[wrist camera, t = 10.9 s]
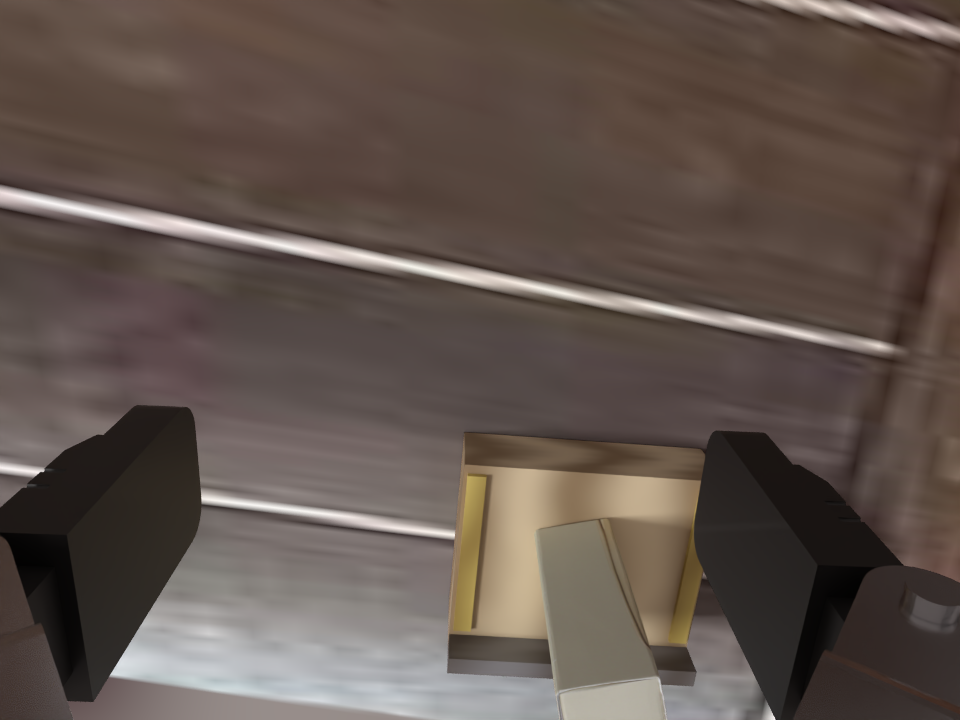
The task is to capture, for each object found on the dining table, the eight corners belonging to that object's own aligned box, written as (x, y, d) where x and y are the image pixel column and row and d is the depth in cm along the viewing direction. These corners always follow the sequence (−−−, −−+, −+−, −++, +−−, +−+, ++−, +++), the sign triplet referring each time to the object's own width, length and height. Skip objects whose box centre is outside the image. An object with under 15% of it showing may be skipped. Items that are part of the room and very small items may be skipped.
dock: (700, 448, 44) (736, 501, 38) (666, 616, 48) (693, 686, 42) (464, 432, 43) (464, 483, 38) (448, 603, 47) (447, 672, 42)
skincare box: (622, 606, 43) (681, 793, 31) (545, 619, 43) (576, 809, 32) (608, 512, 41) (666, 676, 29) (528, 526, 41) (554, 694, 29)
